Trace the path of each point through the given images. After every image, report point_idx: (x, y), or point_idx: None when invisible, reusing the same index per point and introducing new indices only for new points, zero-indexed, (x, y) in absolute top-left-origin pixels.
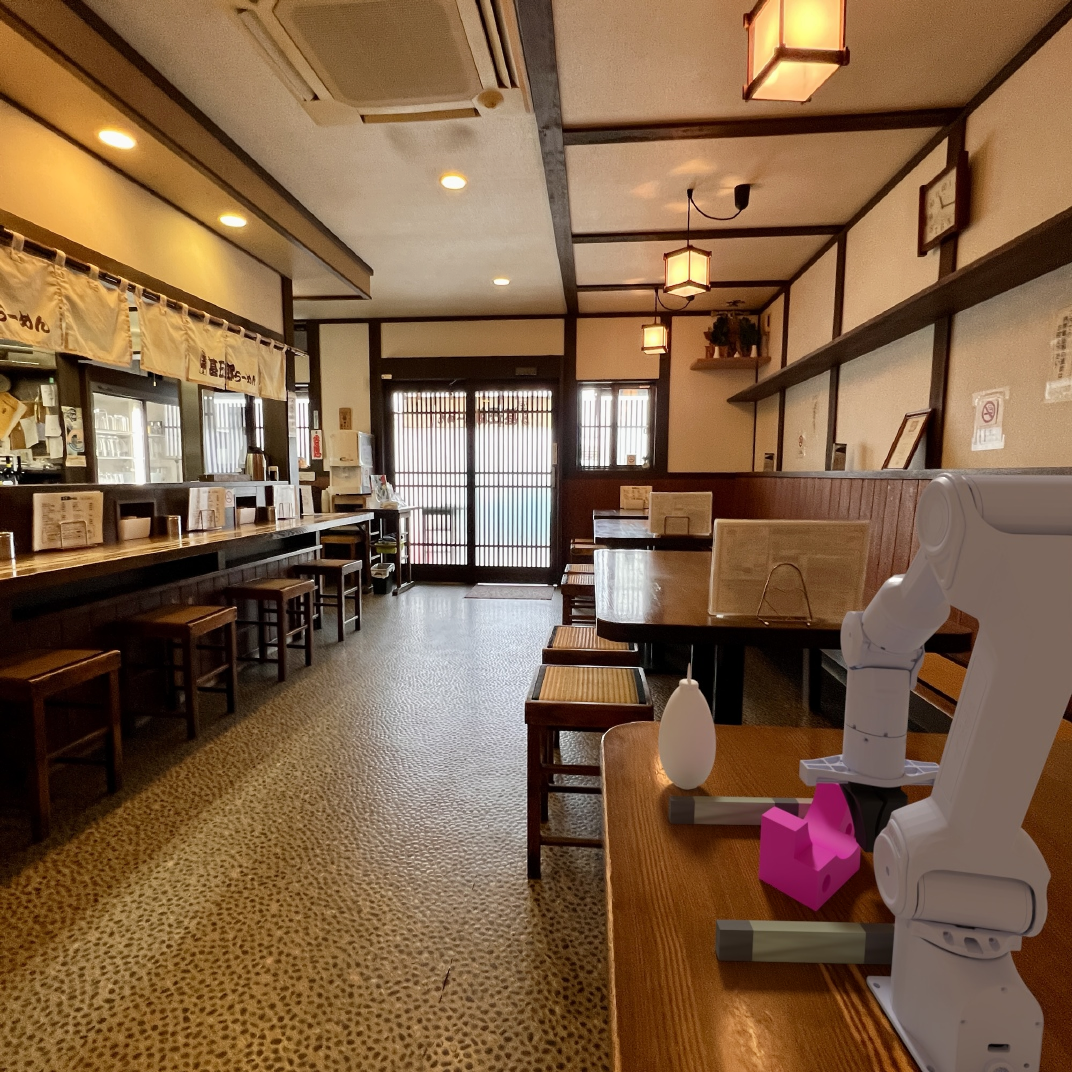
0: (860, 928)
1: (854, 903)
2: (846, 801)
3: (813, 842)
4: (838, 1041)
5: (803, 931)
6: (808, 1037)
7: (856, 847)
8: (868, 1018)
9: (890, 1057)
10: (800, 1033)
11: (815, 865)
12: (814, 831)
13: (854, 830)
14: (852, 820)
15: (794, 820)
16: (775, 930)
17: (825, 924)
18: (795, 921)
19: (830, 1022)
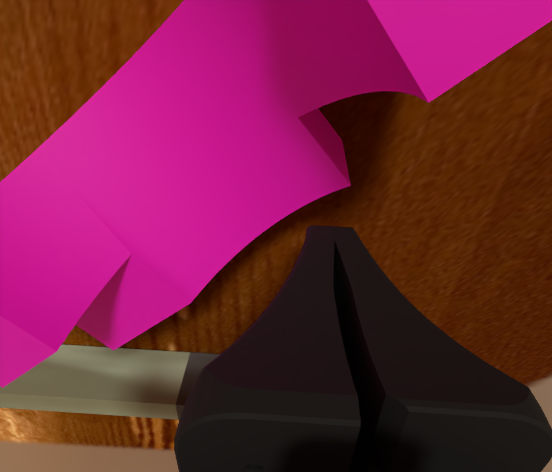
0: (173, 412)
1: (248, 257)
2: (266, 308)
3: (175, 162)
4: (112, 433)
5: (64, 411)
6: (77, 428)
7: (320, 194)
8: (160, 419)
9: (165, 446)
10: (68, 425)
11: (111, 334)
12: (208, 86)
13: (305, 240)
14: (296, 262)
15: (3, 342)
16: (13, 406)
17: (108, 404)
18: (52, 398)
19: (109, 419)
